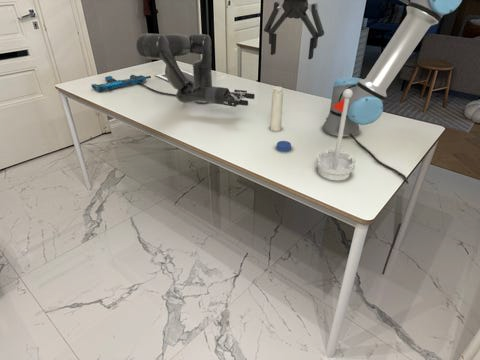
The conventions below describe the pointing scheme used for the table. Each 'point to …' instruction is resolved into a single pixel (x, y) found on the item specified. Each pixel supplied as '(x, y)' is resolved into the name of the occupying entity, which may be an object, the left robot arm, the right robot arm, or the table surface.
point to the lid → (284, 146)
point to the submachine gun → (119, 82)
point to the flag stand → (337, 149)
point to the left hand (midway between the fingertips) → (251, 99)
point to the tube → (276, 108)
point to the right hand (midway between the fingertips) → (291, 56)
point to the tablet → (185, 73)
